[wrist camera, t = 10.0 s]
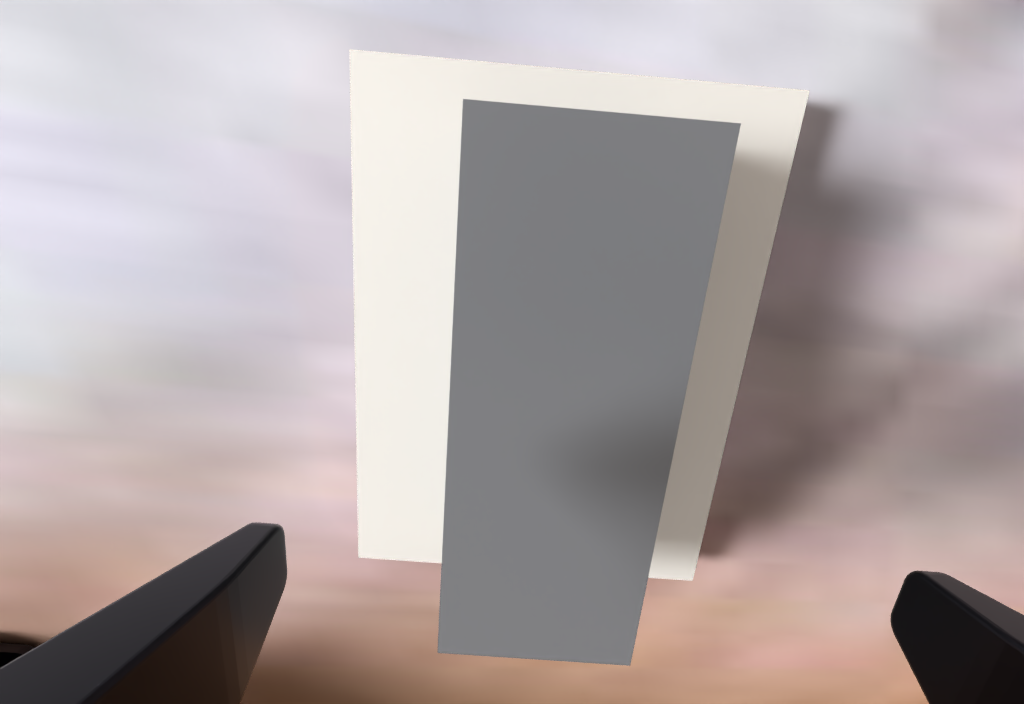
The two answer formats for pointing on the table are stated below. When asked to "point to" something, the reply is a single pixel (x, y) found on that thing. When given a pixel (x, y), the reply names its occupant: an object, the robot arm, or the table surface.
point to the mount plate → (431, 276)
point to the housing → (569, 368)
